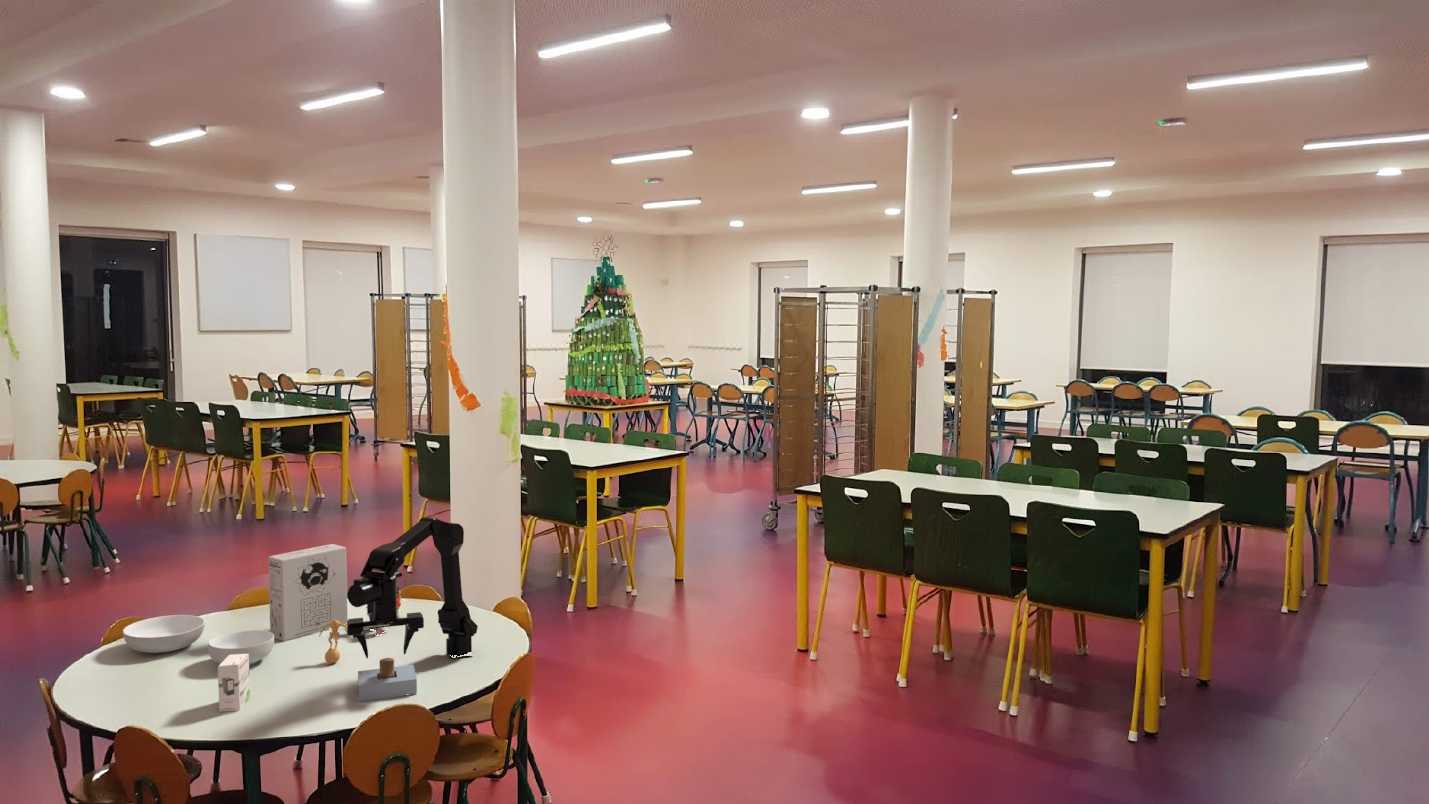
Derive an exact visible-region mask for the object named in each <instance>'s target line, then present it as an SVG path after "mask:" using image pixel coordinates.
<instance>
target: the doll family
mask: <svg viewBox="0 0 1429 804" xmlns="http://www.w3.org/2000/svg"><path fill="white" fill-rule="evenodd" d="M401 593H402V592H401V588H400V587H397V618H399V617H400V613H399V609H400V607H401V605H402V602H401V600H402V595H401ZM365 608H366V609H367V606H366V607H365ZM366 616H368V618H369V621H374V619H373V614H367V613H366ZM370 629H374V630H376V632H375V633H374V635H375V634H376V635H377V634H379V635H380V634H383V633H382V632H384V631H385V630H386V629H383V628H382V627H380V628H370ZM370 629H369V630H370Z"/></svg>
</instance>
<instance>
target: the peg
mask: <svg viewBox="0 0 1429 804" xmlns="http://www.w3.org/2000/svg"><path fill="white" fill-rule="evenodd" d="M394 667H395V659H394V658H393V657H385V658H382V659H379V669H380V679H386V678H394Z"/></svg>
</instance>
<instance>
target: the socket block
mask: <svg viewBox="0 0 1429 804" xmlns="http://www.w3.org/2000/svg"><path fill="white" fill-rule="evenodd" d="M414 665H415V664H411V665H410V664H409V665H401V666H394V678H386V679H380V668H375V669H366V670H359V671H357V686H358V687H357V689H358V699H359V700H358V701H359V702H365V701H366V702H367V701H373V700H382V699H389V698H390V699H391V698H396V696H398V697H402V696H401V695H406V694H414V695H417V694H416V693H418V687H417V686H418V685H417V684H418V683H417V682H418V681H417V675H416V670H415V666H414ZM406 696H407V695H406Z"/></svg>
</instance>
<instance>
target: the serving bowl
mask: <svg viewBox="0 0 1429 804" xmlns="http://www.w3.org/2000/svg"><path fill="white" fill-rule="evenodd" d="M205 625H206V621H205V619H204V618H203V617H200V616H196V615H190V614H173V615H163V616H162V615H161V616H157V617H156V616H155V617H151V618H146V619H142V620H139V621H135V622H133V623H131V624H129V625H126V626H125V627H124V628H123V629H122V635H123V639H124V642H125V643H126V645H128V647H130V648H131V649H133V650H134V651H137V652H142V653H149V654H151V653H152V654H164V653H169V652H170V653H171V652H174V651H178V650H180V649H184V648H186V647H188V646H191V645H192V644H194V643H195V642H197V640H199V638H201V636H202V634H203V632H204V630H205Z"/></svg>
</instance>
